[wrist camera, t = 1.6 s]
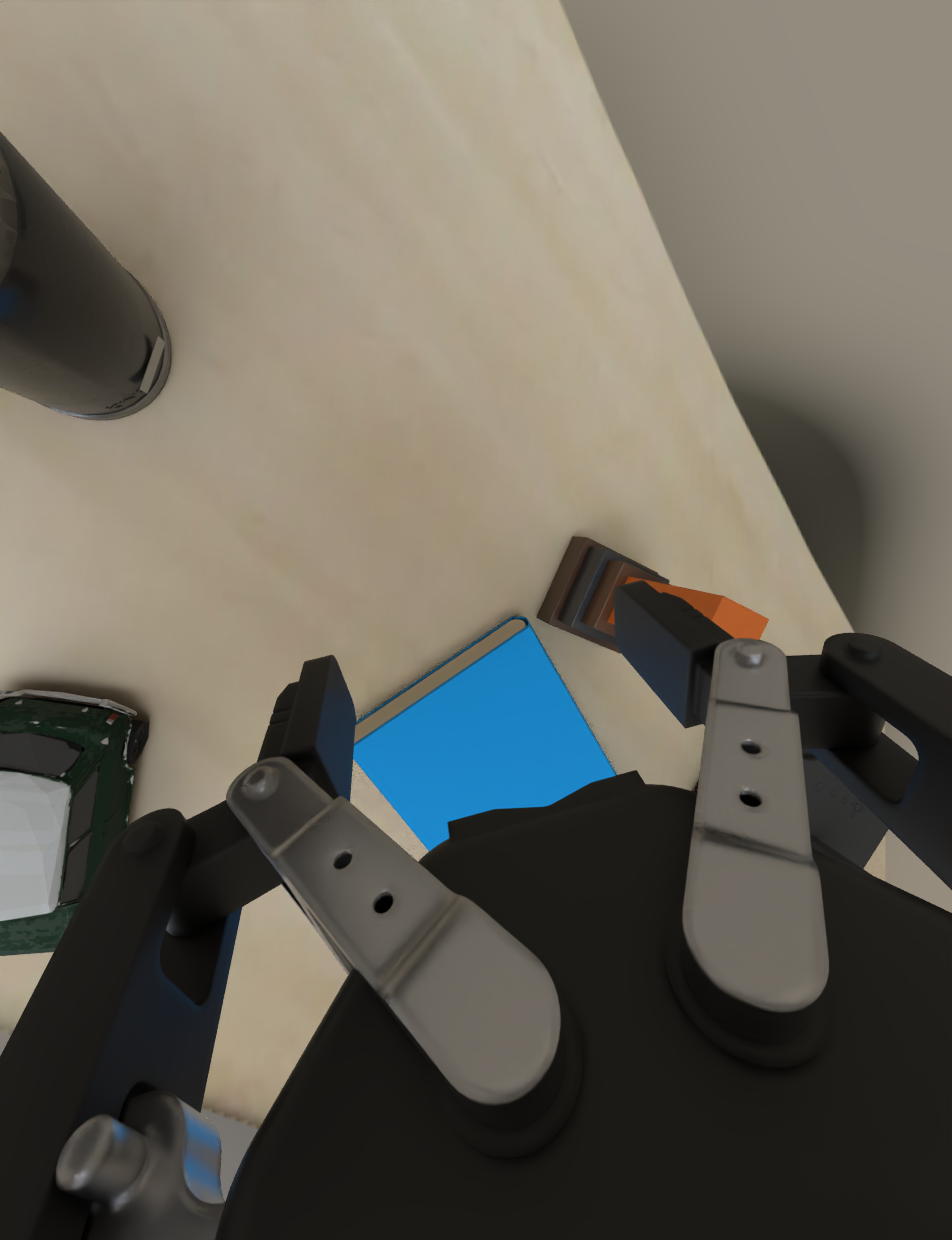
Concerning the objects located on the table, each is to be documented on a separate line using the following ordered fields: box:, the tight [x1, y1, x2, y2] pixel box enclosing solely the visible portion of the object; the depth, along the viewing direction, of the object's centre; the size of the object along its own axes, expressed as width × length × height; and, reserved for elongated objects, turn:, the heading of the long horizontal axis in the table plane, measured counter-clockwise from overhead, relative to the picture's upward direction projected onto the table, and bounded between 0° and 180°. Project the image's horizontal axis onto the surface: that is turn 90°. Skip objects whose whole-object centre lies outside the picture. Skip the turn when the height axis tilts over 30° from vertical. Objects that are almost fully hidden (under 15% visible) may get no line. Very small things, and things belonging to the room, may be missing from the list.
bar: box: [608, 576, 769, 640], centre depth 30 cm, size 4×4×9 cm
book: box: [353, 616, 617, 851], centre depth 40 cm, size 17×4×25 cm
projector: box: [696, 749, 889, 875], centre depth 42 cm, size 19×17×20 cm
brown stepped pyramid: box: [537, 536, 670, 653], centre depth 37 cm, size 8×8×7 cm
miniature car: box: [0, 689, 149, 956], centre depth 29 cm, size 9×18×8 cm, turn 164°
